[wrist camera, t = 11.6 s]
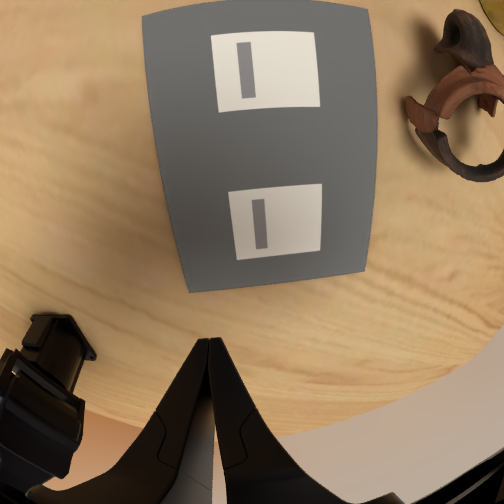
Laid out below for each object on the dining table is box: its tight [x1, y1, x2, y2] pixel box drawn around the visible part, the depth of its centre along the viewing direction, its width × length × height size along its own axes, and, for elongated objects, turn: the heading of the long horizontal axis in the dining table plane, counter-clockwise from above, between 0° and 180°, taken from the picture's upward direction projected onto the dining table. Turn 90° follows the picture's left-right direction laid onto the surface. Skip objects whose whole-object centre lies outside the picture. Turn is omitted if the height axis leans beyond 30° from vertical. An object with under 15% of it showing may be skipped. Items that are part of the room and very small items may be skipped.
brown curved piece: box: [405, 9, 504, 182], centre depth 11 cm, size 12×9×8 cm
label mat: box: [142, 0, 377, 293], centre depth 15 cm, size 20×14×1 cm
